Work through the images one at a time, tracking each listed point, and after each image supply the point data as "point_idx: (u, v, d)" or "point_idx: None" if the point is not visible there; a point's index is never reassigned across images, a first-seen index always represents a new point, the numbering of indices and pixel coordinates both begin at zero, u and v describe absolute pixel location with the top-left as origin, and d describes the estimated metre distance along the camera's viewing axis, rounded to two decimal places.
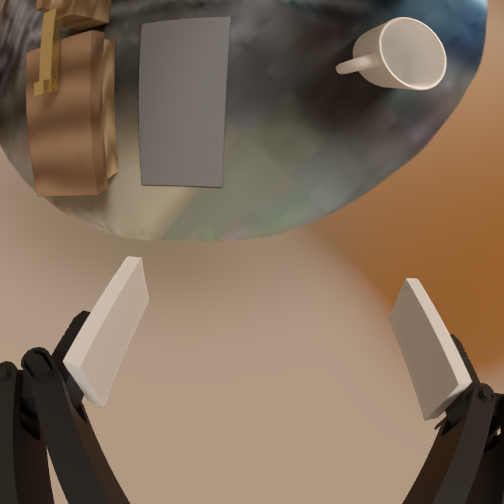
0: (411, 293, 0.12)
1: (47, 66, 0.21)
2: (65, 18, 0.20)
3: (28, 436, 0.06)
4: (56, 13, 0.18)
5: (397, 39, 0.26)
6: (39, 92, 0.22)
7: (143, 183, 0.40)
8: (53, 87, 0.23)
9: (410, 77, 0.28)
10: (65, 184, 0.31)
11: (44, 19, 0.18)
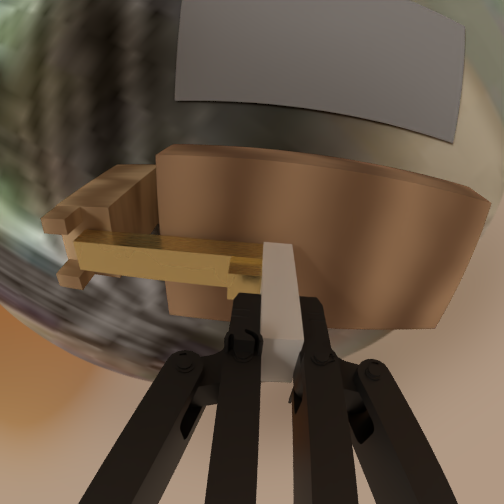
0: (277, 255, 0.14)
1: (197, 262, 0.15)
2: (118, 227, 0.17)
3: (179, 436, 0.07)
4: (85, 240, 0.15)
5: None
6: (255, 287, 0.14)
7: (451, 140, 0.20)
8: (253, 252, 0.15)
9: None
10: (452, 266, 0.17)
11: (92, 269, 0.16)
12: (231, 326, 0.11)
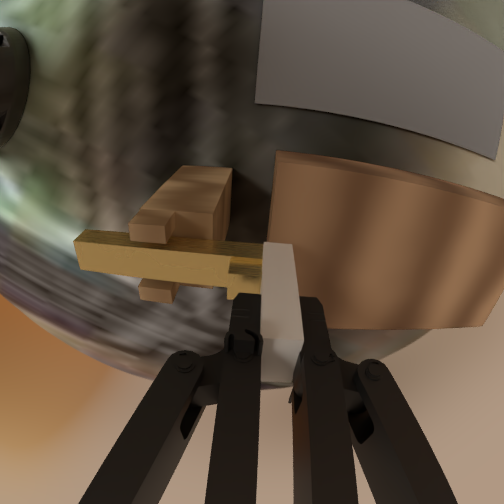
0: (277, 255, 0.14)
1: (197, 262, 0.15)
2: (215, 235, 0.17)
3: (179, 436, 0.07)
4: (85, 240, 0.15)
5: None
6: (255, 287, 0.14)
7: (494, 157, 0.20)
8: (253, 252, 0.15)
9: None
10: (502, 271, 0.17)
11: (92, 269, 0.16)
12: (231, 326, 0.11)
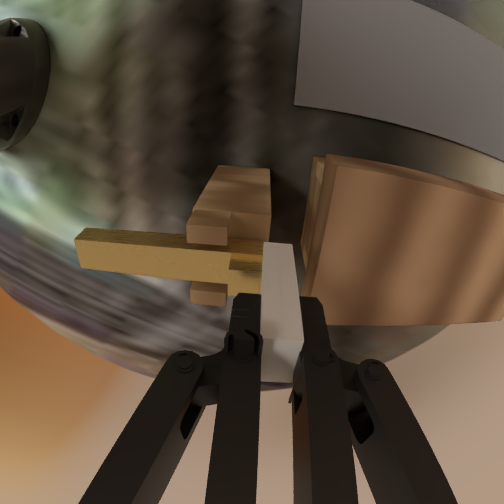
0: (277, 255, 0.14)
1: (198, 259, 0.15)
2: None
3: (179, 436, 0.07)
4: (85, 238, 0.15)
5: None
6: (255, 283, 0.14)
7: None
8: (253, 248, 0.15)
9: None
10: None
11: (93, 267, 0.16)
12: (231, 326, 0.11)
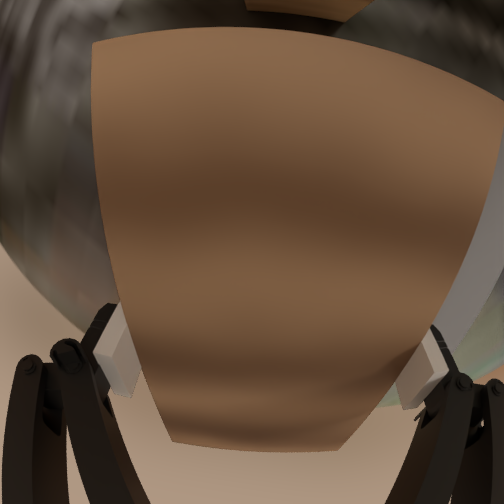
0: None
1: None
2: None
3: (49, 432, 0.06)
4: None
5: None
6: None
7: None
8: None
9: None
10: (265, 444, 0.15)
11: None
12: (85, 337, 0.09)
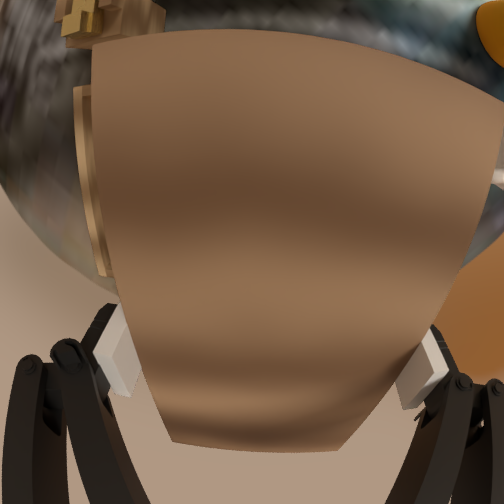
0: None
1: None
2: (105, 39, 0.15)
3: (49, 432, 0.06)
4: None
5: None
6: (71, 30, 0.11)
7: None
8: (96, 26, 0.13)
9: None
10: (265, 444, 0.15)
11: None
12: (85, 337, 0.09)
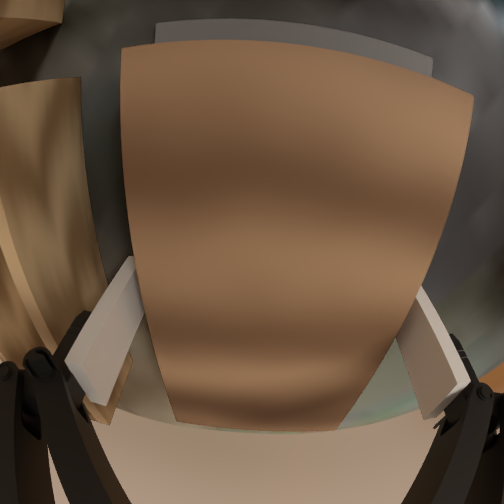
0: None
1: None
2: None
3: (29, 436, 0.06)
4: None
5: None
6: None
7: None
8: None
9: None
10: (265, 422, 0.16)
11: None
12: (60, 344, 0.09)
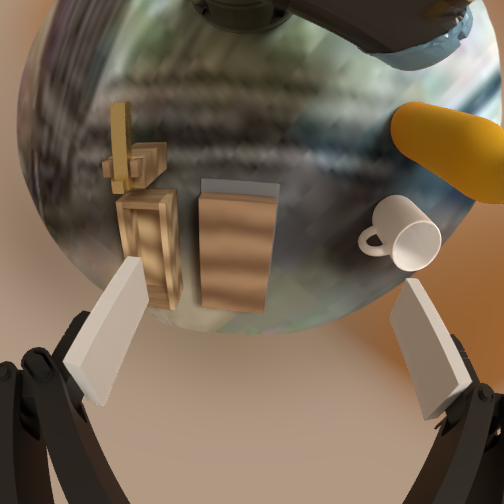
0: (411, 292, 0.12)
1: (123, 165, 0.32)
2: None
3: (28, 436, 0.06)
4: (125, 108, 0.28)
5: None
6: (118, 191, 0.32)
7: None
8: (131, 185, 0.34)
9: (412, 237, 0.43)
10: (235, 304, 0.51)
11: (110, 110, 0.28)
12: (59, 345, 0.09)
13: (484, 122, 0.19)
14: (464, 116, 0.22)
